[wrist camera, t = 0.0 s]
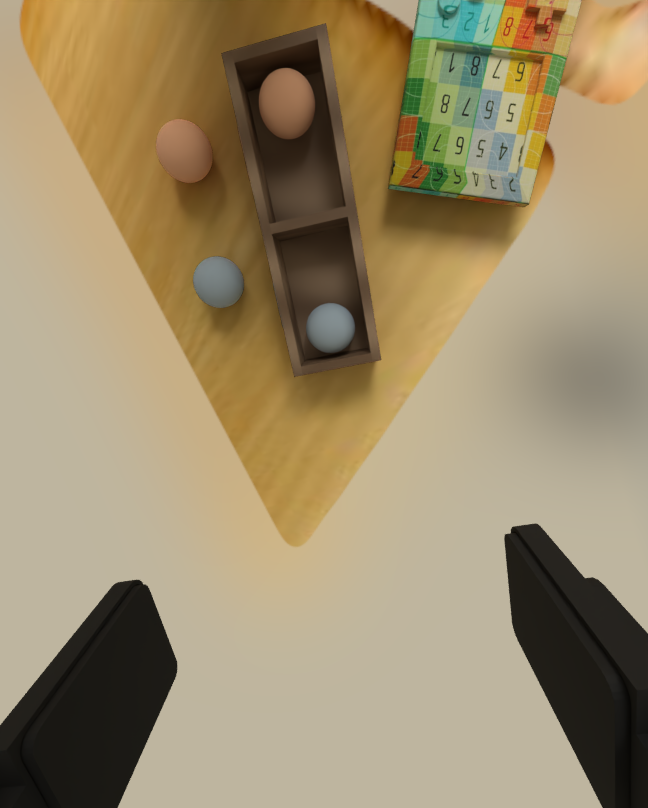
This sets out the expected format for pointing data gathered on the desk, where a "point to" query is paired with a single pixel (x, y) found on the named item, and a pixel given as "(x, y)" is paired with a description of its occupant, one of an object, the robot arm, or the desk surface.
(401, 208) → the desk surface
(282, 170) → the divided wooden box
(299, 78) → the tan rounded piece
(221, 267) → the slate ball
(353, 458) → the desk surface
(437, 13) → the puzzle game
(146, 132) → the desk surface
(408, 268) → the desk surface
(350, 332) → the blue-grey ball
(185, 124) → the terracotta ball
